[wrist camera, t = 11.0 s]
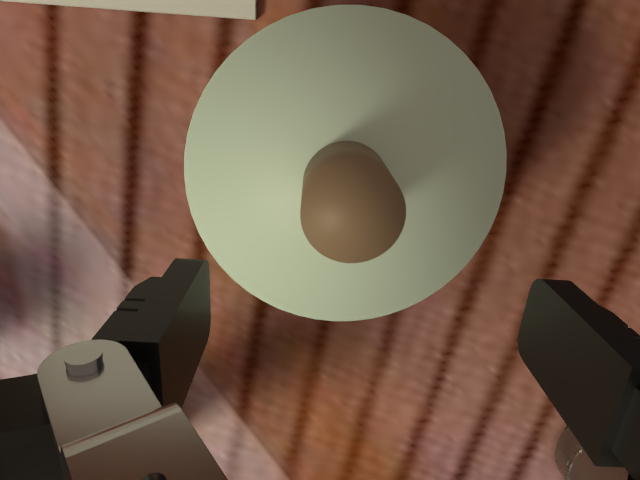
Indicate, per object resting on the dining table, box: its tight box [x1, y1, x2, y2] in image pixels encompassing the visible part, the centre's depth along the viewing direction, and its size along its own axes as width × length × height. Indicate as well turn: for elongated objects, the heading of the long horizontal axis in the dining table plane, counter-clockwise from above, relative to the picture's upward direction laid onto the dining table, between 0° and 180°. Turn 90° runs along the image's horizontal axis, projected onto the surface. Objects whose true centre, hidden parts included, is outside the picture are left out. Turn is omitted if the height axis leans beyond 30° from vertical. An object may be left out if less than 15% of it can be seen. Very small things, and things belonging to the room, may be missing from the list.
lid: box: [184, 5, 507, 321], centre depth 20 cm, size 15×15×6 cm
